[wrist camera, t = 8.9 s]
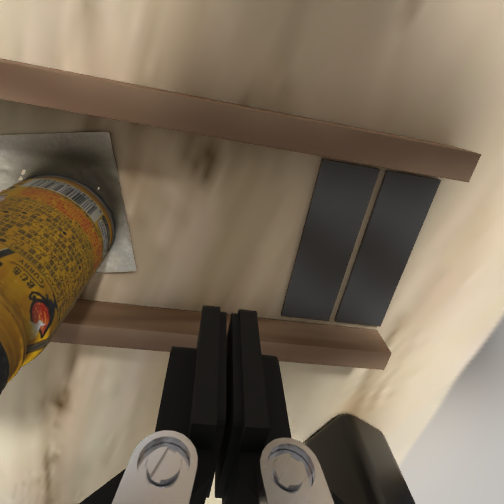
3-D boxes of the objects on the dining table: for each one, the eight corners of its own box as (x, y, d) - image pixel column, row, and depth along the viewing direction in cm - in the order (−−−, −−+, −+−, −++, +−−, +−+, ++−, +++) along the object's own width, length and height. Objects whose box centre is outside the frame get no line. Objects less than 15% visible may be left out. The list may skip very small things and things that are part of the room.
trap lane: (-134, 32, 16) (-205, 23, 13) (452, 146, 21) (487, 156, 18) (-69, 304, 22) (-108, 334, 20) (370, 345, 27) (387, 375, 24)
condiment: (19, 276, 22) (-169, 461, 11) (-32, 135, 18) (-383, 213, 8) (137, 269, 23) (62, 440, 12) (111, 130, 19) (-34, 197, 8)
